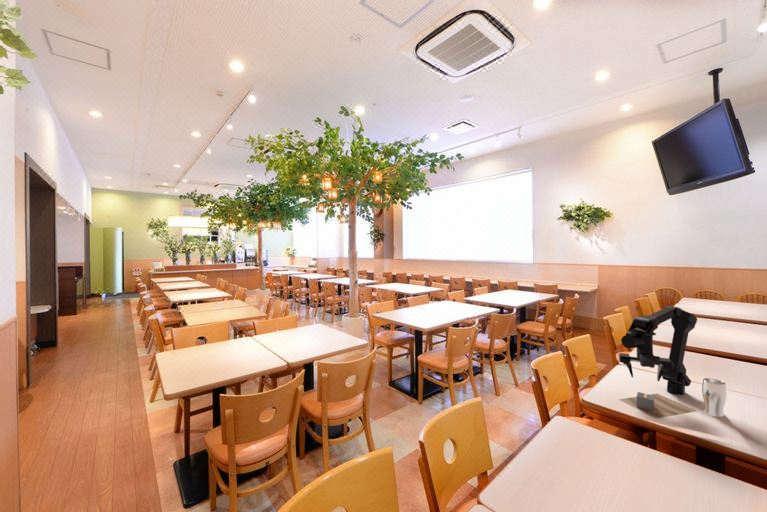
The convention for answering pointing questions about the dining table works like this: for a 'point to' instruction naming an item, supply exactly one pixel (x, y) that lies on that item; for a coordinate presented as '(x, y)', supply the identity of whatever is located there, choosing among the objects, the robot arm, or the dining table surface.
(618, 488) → the dining table surface
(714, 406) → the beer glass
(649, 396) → the grey block
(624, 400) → the board
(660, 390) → the dining table surface
